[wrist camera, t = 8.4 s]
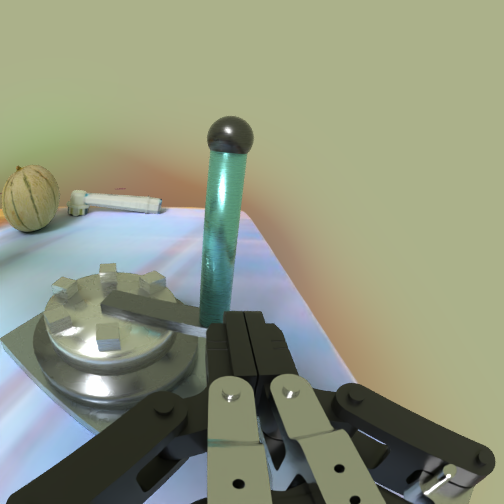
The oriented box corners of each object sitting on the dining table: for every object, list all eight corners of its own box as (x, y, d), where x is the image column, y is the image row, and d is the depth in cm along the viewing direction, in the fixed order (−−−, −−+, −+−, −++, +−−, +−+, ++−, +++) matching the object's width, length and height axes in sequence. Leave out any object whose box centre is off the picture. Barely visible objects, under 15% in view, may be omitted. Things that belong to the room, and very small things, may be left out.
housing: (4, 349, 22) (-7, 323, 21) (104, 286, 38) (101, 264, 37) (156, 474, 16) (149, 455, 14) (248, 345, 32) (252, 320, 30)
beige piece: (162, 201, 69) (66, 188, 60) (157, 226, 71) (64, 215, 62) (161, 196, 73) (71, 184, 64) (157, 220, 76) (69, 209, 66)
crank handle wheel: (26, 346, 20) (-11, 125, 12) (92, 283, 32) (87, 118, 24) (213, 410, 19) (242, 109, 12) (239, 313, 31) (263, 123, 24)
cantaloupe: (73, 223, 59) (71, 158, 53) (29, 246, 45) (22, 169, 39) (36, 216, 60) (33, 158, 54) (-5, 235, 47) (-12, 169, 41)
